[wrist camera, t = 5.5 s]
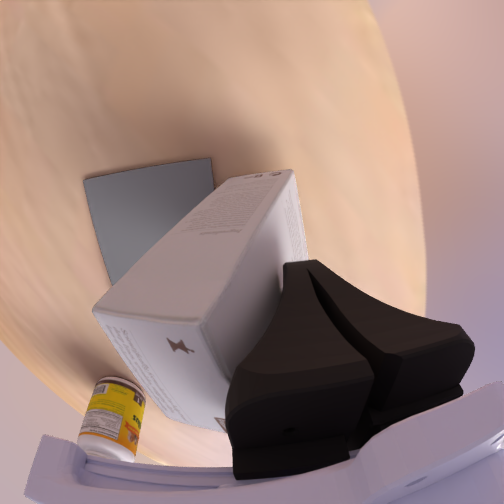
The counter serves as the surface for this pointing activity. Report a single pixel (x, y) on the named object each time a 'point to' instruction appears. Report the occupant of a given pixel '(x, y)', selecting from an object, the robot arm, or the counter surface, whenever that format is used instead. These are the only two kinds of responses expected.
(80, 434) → the supplement bottle
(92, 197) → the mat
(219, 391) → the skincare box
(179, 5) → the counter surface
